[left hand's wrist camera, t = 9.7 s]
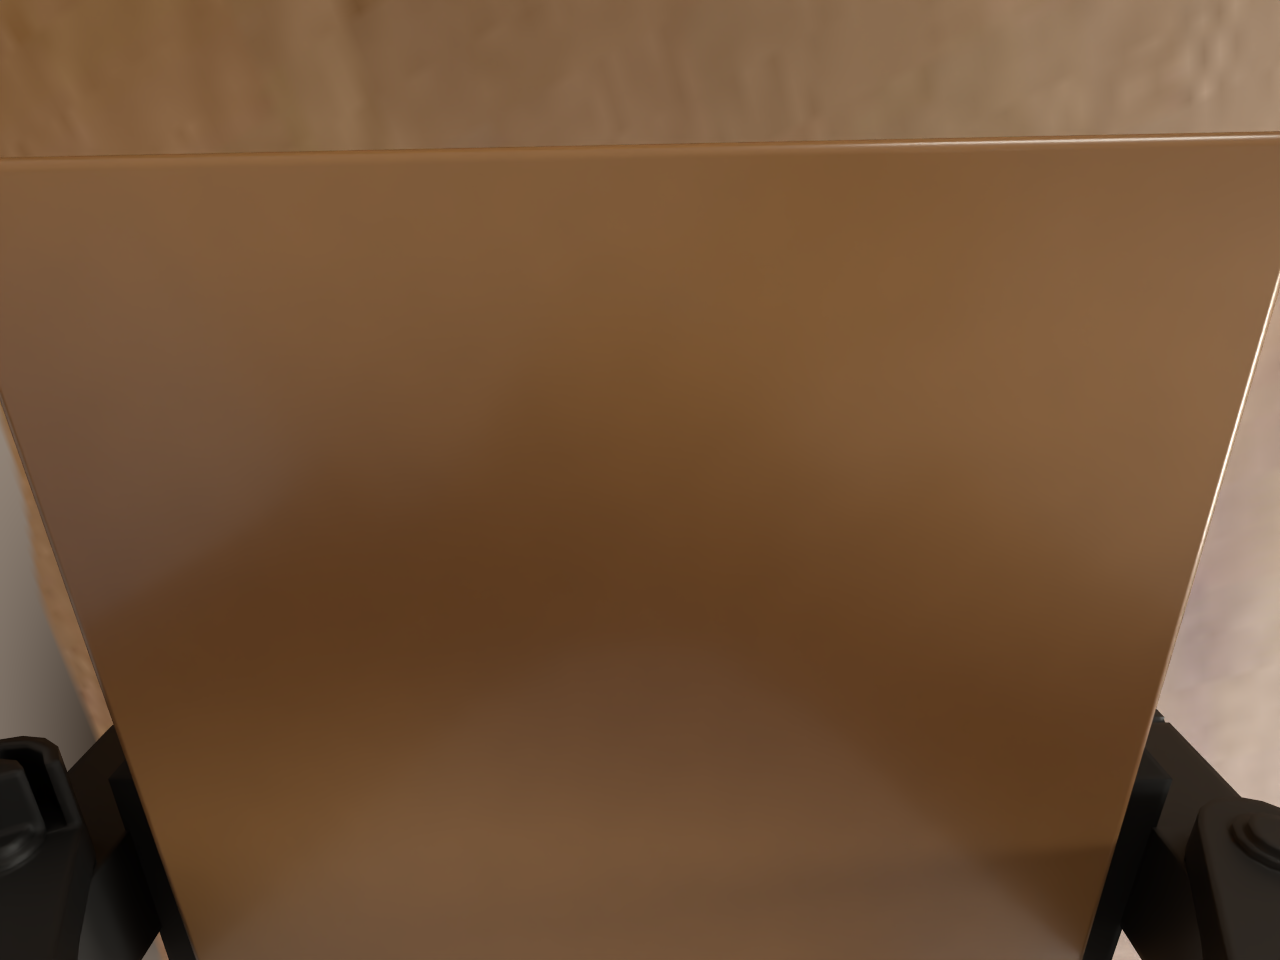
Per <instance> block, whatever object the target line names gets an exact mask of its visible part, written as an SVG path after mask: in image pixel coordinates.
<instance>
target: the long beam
mask: <svg viewBox="0 0 1280 960" xmlns="http://www.w3.org/2000/svg"><path fill="white" fill-rule="evenodd" d="M1279 289H1280V131H1273V132H1224V133H1176V134H1127V135H1079V136H1030V137H982V138H933V139H885V140H836V141H788V142H740V143H691V144H643V145H594V146H546V147H497V148H449V149H400V150H352V151H303V152H255V153H207V154H158V155H110V156H61V157H13V158H0V401H1V404H2V407H3V410H4V413H5V416H6V419H7V421H8V424H9V427H10V430H11V433H12V436H13V438H14V441H15V444H16V447H17V450H18V453H19V456H20V458H21V461H22V464H23V467H24V470H25V473H26V476H27V478H28V481H29V484H30V487H31V490H32V493H33V496H34V498H35V501H36V504H37V507H38V510H39V513H40V516H41V518H42V521H43V524H44V527H45V530H46V533H47V536H48V538H49V541H50V544H51V547H52V550H53V553H54V555H55V558H56V561H57V564H58V567H59V570H60V573H61V575H62V578H63V581H64V584H65V587H66V590H67V593H68V595H69V598H70V601H71V604H72V607H73V610H74V613H75V615H76V618H77V621H78V624H79V627H80V630H81V633H82V635H83V638H84V641H85V644H86V647H87V650H88V653H89V655H90V658H91V661H92V664H93V667H94V670H95V672H96V675H97V678H98V681H99V684H100V687H101V690H102V692H103V695H104V698H105V701H106V704H107V707H108V710H109V712H110V715H111V718H112V721H113V724H114V727H115V730H116V732H117V735H118V738H119V741H120V744H121V747H122V750H123V752H124V755H125V758H126V761H127V764H128V767H129V770H130V772H131V775H132V778H133V781H134V784H135V787H136V789H137V792H138V795H139V798H140V801H141V804H142V807H143V809H144V812H145V815H146V818H147V821H148V824H149V827H150V829H151V832H152V835H153V838H154V841H155V844H156V847H157V849H158V852H159V855H160V858H161V861H162V864H163V867H164V869H165V872H166V875H167V878H168V881H169V884H170V887H171V889H172V892H173V895H174V898H175V901H176V904H177V906H178V909H179V912H180V915H181V918H182V921H183V924H184V926H185V929H186V932H187V935H188V938H189V941H190V944H191V946H192V949H193V952H194V955H195V958H196V960H1082V958H1083V955H1084V952H1085V948H1086V945H1087V941H1088V938H1089V935H1090V931H1091V928H1092V924H1093V921H1094V918H1095V914H1096V911H1097V907H1098V904H1099V901H1100V897H1101V894H1102V890H1103V887H1104V884H1105V880H1106V877H1107V874H1108V870H1109V867H1110V863H1111V860H1112V857H1113V853H1114V850H1115V846H1116V843H1117V840H1118V836H1119V833H1120V829H1121V826H1122V823H1123V819H1124V816H1125V812H1126V809H1127V806H1128V802H1129V799H1130V795H1131V792H1132V789H1133V785H1134V782H1135V778H1136V775H1137V772H1138V768H1139V765H1140V761H1141V758H1142V755H1143V751H1144V748H1145V744H1146V741H1147V738H1148V734H1149V731H1150V727H1151V724H1152V721H1153V717H1154V714H1155V710H1156V707H1157V704H1158V700H1159V697H1160V693H1161V690H1162V687H1163V683H1164V680H1165V676H1166V673H1167V670H1168V666H1169V663H1170V659H1171V656H1172V653H1173V649H1174V646H1175V642H1176V639H1177V636H1178V632H1179V629H1180V625H1181V622H1182V619H1183V615H1184V612H1185V608H1186V605H1187V602H1188V598H1189V595H1190V591H1191V588H1192V585H1193V581H1194V578H1195V574H1196V571H1197V568H1198V564H1199V561H1200V557H1201V554H1202V551H1203V547H1204V544H1205V540H1206V537H1207V534H1208V530H1209V527H1210V523H1211V520H1212V517H1213V513H1214V510H1215V506H1216V503H1217V500H1218V496H1219V493H1220V489H1221V486H1222V483H1223V479H1224V476H1225V472H1226V469H1227V466H1228V462H1229V459H1230V455H1231V452H1232V449H1233V445H1234V442H1235V438H1236V435H1237V432H1238V428H1239V425H1240V421H1241V418H1242V415H1243V411H1244V408H1245V404H1246V401H1247V398H1248V394H1249V391H1250V387H1251V384H1252V381H1253V377H1254V374H1255V370H1256V367H1257V364H1258V360H1259V357H1260V353H1261V350H1262V347H1263V343H1264V340H1265V336H1266V333H1267V330H1268V326H1269V323H1270V319H1271V316H1272V313H1273V309H1274V306H1275V302H1276V299H1277V296H1278V292H1279Z"/></svg>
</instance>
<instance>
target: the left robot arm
mask: <svg viewBox="0 0 1280 960" xmlns="http://www.w3.org/2000/svg"><path fill="white" fill-rule="evenodd" d="M1122 929H1123V931H1124V933H1125V934H1126V936H1127V937H1128V939H1129V940H1130V942H1131V944H1132V945H1133V947H1134V948H1135V950H1136V951H1137V953H1138V955H1139V956H1140V958H1141V959H1142V960H1280V808H1279V807H1276V806H1274V805H1271V804H1268V803H1266V802H1263V801H1258V800H1253V799H1247V798H1242V797H1241V796H1240V795H1239V794H1238V793H1237V792H1236V791H1235V790H1234V789H1233V788H1232V787H1231V786H1230V785H1229V784H1228V783H1227V782H1226V781H1225V780H1224V779H1223V778H1222V777H1221V776H1220V775H1219V774H1218V773H1217V772H1216V771H1215V769H1214V768H1213V767H1212V766H1211V765H1210V764H1209V763H1208V762H1207V761H1206V760H1205V759H1204V758H1203V757H1202V756H1201V755H1200V754H1199V753H1198V752H1197V751H1196V750H1195V749H1194V748H1193V747H1192V746H1191V745H1190V744H1189V742H1188V741H1187V740H1186V739H1185V738H1184V737H1183V736H1182V735H1181V734H1180V733H1179V732H1178V731H1177V730H1176V729H1175V728H1174V727H1173V726H1172V725H1171V724H1170V723H1165V721H1164V717H1163V715H1162V714H1161V713H1160V712H1159V711H1158V710H1157V709H1156V710H1155V714H1154V717H1153V721H1152V724H1151V727H1150V731H1149V734H1148V738H1147V741H1146V744H1145V748H1144V751H1143V755H1142V758H1141V761H1140V765H1139V768H1138V772H1137V775H1136V778H1135V782H1134V785H1133V789H1132V792H1131V795H1130V799H1129V802H1128V806H1127V809H1126V812H1125V816H1124V819H1123V823H1122V826H1121V829H1120V833H1119V836H1118V840H1117V843H1116V846H1115V850H1114V853H1113V857H1112V860H1111V863H1110V867H1109V870H1108V874H1107V877H1106V880H1105V884H1104V887H1103V890H1102V894H1101V897H1100V901H1099V904H1098V907H1097V911H1096V914H1095V918H1094V921H1093V924H1092V928H1091V931H1090V935H1089V938H1088V941H1087V945H1086V948H1085V952H1084V955H1083V958H1082V960H1112V957H1113V954H1114V951H1115V948H1116V946H1117V943H1118V940H1119V937H1120V934H1121V931H1122ZM159 931H160V934H161V937H162V940H163V943H164V946H165V949H166V952H167V955H168V958H169V960H196V958H195V955H194V952H193V949H192V946H191V944H190V941H189V938H188V935H187V932H186V929H185V926H184V924H183V921H182V918H181V915H180V912H179V909H178V906H177V904H176V901H175V898H174V895H173V892H172V889H171V887H170V884H169V881H168V878H167V875H166V872H165V869H164V867H163V864H162V861H161V858H160V855H159V852H158V849H157V847H156V844H155V841H154V838H153V835H152V832H151V829H150V827H149V824H148V821H147V818H146V815H145V812H144V809H143V807H142V804H141V801H140V798H139V795H138V792H137V789H136V787H135V784H134V781H133V778H132V775H131V772H130V770H129V767H128V764H127V761H126V758H125V755H124V752H123V750H122V747H121V744H120V741H119V738H118V735H117V732H116V730H115V727H114V725H112V726H111V727H110V728H109V729H108V730H107V731H106V732H105V733H104V734H103V735H102V736H101V737H100V739H99V740H98V741H97V742H96V743H95V744H94V745H93V746H92V747H91V748H90V749H89V750H88V751H87V752H86V753H85V754H84V755H83V756H82V757H81V758H80V759H79V760H78V762H77V763H76V764H75V765H74V766H73V767H72V768H71V769H70V770H69V771H68V772H67V770H66V767H65V765H64V762H63V759H62V756H61V753H60V751H59V748H58V746H56V745H55V744H53V743H52V742H50V741H49V740H47V739H46V738H39V737H28V736H19V737H13V738H7V739H1V740H0V960H142V958H143V956H144V955H145V953H146V952H147V950H148V949H149V947H150V946H151V944H152V942H153V941H154V939H155V938H156V936H157V934H158V933H159Z"/></svg>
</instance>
